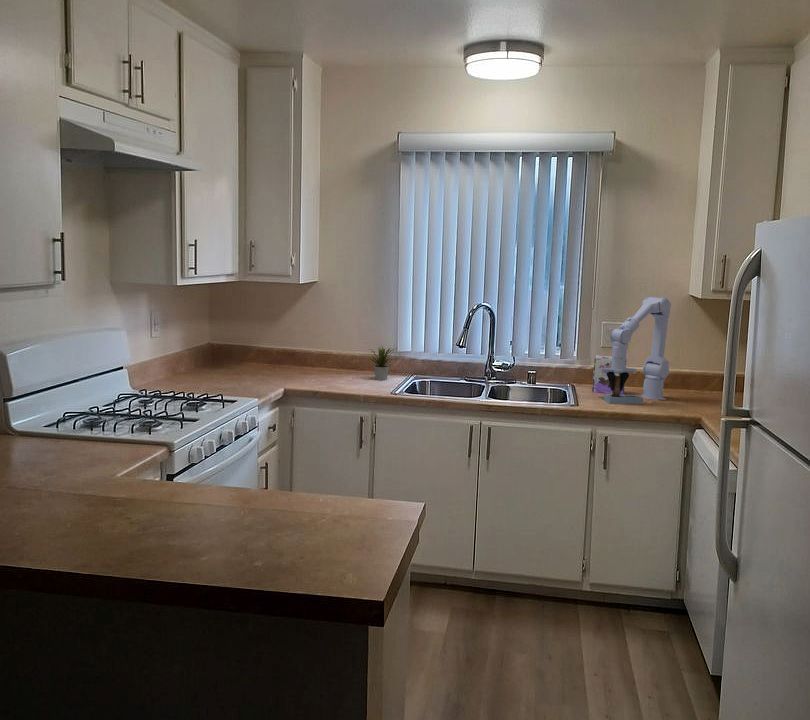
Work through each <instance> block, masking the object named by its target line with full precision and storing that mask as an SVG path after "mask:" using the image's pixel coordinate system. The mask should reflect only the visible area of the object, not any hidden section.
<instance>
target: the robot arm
mask: <svg viewBox="0 0 810 720" xmlns="http://www.w3.org/2000/svg"><path fill="white" fill-rule="evenodd" d="M671 306H672V303H671V301H670V300H669V298H667V297H655V296H650V295H649V296H646V297H645V298H644V299H643V300H642V304H641V307H640V308H639V309H638V310H637V312H636V313H634V315H633V316H630V317H627V318H626V319H625V321H624V322H623V323H622V324H621V325H619V327H617V328H615V329H613V330H612V331H611V333H610V335H609V339H610V341H611V346H612V347H611V348H612V351H611V357H612V361H611V368H600V373H606V374H607V377H608V379H609V382H610V388H611V390H612V391H614V382H615V377H616V375H615V374H614V373H620V374H619V375H620V376H621V385H620V391H622V390H623V387H624V388H625V386H624V384H625V385H626V382H627V380H628V379H629V377H630V374H633V375H636V372H637V370H636V369H637V368H629V367H626V368H625V365H626V366H627V363H626V358H627V348H628V343H630V342H631V339H632V336H633V334H634V333H635V332H636V331H637V329H639V328H640V323H641V322H642V321H644V319H645V318H647V316H649V315H651V316H652V317H653V318H654V320H655V321H654V327H653V336H652V343H651V350H650V351H651V353H650V355H649V356H648V357H646V358H645V362H644V364H643V367H642V373H643V375H644V377H645V379H644V380H643V386H642V387H643V388H642V394H640V397H642V398H644V399H648V400H658V401H666V400H667V399H666V398H665V397H663V395H664V384H665V383H664V381H665V380H666V378H667V377H668V376H669V374H670V368H669V361H668V359H667V358H666V357H665V348H666V343H667V342H666V341H667V333H668V328H669V327H668V325H669V319H670V313H671V308H672V307H671ZM614 371H619V372H614Z"/></svg>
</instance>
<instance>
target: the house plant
mask: <svg viewBox="0 0 810 720" xmlns="http://www.w3.org/2000/svg"><path fill="white" fill-rule="evenodd" d="M369 350H371V352H372V353H373V354H374V356H371V357H372V359H371V358H370V359H369V360H370V361H372V362H374V363H375V365H373V368H374V370H373V371H374V378H375V380H376V381H387V380H388V375H389V368H390V366H389V365H388V364H389V362H391V361H392V360H393V361H394V362H395V357H392V358H389V357H390V356H391V355H392V354H393V353H394V350H395V348H393V349H391V347H389V348H388V349H387V350H386V349H385V348H384V346H383V345H379V347H378V350H377V351H378V356H377V354H376V352H375V351H374V350H373V349H371V348H369Z"/></svg>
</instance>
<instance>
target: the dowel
mask: <svg viewBox="0 0 810 720" xmlns="http://www.w3.org/2000/svg"><path fill="white" fill-rule="evenodd" d="M620 385H621V376H616V377H615V382H614V391H613V393H612V397H620Z"/></svg>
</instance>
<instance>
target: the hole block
mask: <svg viewBox="0 0 810 720" xmlns="http://www.w3.org/2000/svg"><path fill="white" fill-rule="evenodd" d="M603 397H604V400H603V401H604V402H606V403H608V404H610V405H611V404H612V405H643V403H644V397H643V396H641V395H637V394H624V395H620V397H612V394H607V393H604V396H603Z"/></svg>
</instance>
